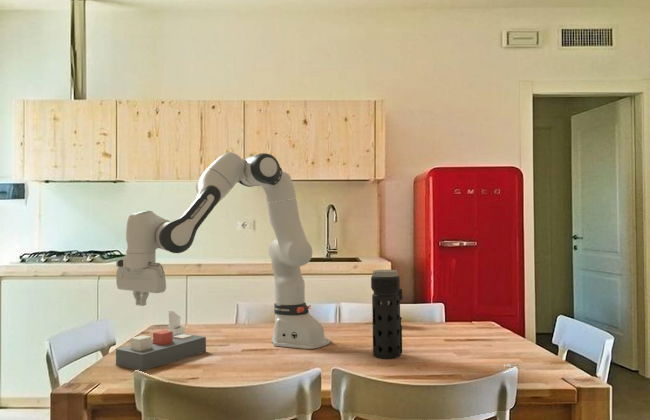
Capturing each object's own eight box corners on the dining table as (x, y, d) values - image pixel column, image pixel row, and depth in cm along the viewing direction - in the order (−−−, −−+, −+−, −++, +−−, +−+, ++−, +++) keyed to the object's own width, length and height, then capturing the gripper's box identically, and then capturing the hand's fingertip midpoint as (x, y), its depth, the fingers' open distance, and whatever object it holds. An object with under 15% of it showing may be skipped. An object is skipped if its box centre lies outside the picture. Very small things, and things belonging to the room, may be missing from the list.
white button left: (151, 352, 158) (151, 336, 158) (139, 355, 154) (139, 339, 154) (142, 350, 160) (142, 335, 160) (130, 353, 156) (130, 337, 157)
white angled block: (163, 333, 190) (168, 311, 195) (174, 340, 199) (179, 319, 203) (171, 333, 190) (177, 311, 194) (182, 341, 198) (187, 319, 203)
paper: (529, 357, 162) (529, 354, 162) (547, 373, 145) (547, 369, 145) (451, 356, 164) (451, 352, 164) (460, 371, 147) (460, 368, 147)
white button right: (192, 349, 172) (192, 335, 172) (182, 352, 168) (182, 338, 169) (183, 348, 174) (183, 334, 175) (173, 351, 171) (173, 336, 171)
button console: (205, 351, 172) (205, 337, 172) (142, 371, 150) (142, 354, 150) (180, 346, 179) (180, 332, 179) (115, 364, 157) (115, 348, 157)
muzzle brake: (398, 350, 170) (368, 352, 168) (397, 269, 170) (367, 269, 169) (407, 358, 160) (376, 360, 159) (405, 271, 161) (375, 272, 159)
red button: (172, 346, 165) (172, 331, 165) (161, 349, 161) (161, 334, 161) (163, 344, 167) (163, 330, 167) (153, 347, 164) (153, 332, 164)
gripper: (170, 262, 155) (170, 306, 155) (129, 260, 166) (129, 301, 166) (154, 263, 150) (154, 309, 149) (112, 261, 161) (112, 304, 160)
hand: (140, 305), depth 157 cm, fingers closed
